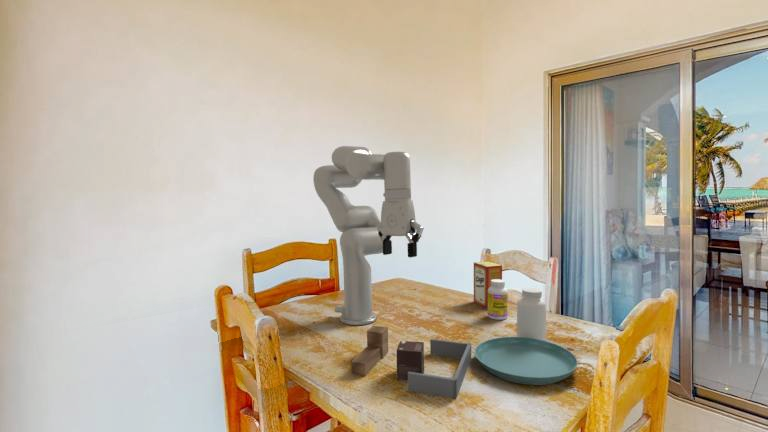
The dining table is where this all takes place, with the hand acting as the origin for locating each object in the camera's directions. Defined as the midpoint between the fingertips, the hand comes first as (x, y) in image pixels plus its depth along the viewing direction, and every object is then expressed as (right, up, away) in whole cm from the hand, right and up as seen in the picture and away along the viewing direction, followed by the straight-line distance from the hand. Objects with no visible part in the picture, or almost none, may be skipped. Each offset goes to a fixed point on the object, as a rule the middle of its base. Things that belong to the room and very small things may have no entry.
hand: (399, 255), depth 115 cm
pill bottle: (+38, -25, +2) cm, 46 cm away
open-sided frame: (+9, -27, -17) cm, 33 cm away
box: (+2, -27, -18) cm, 33 cm away
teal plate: (+31, -27, -14) cm, 43 cm away
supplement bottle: (+35, -24, +24) cm, 48 cm away
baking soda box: (+35, -23, +39) cm, 58 cm away
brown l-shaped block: (-8, -27, -11) cm, 30 cm away
